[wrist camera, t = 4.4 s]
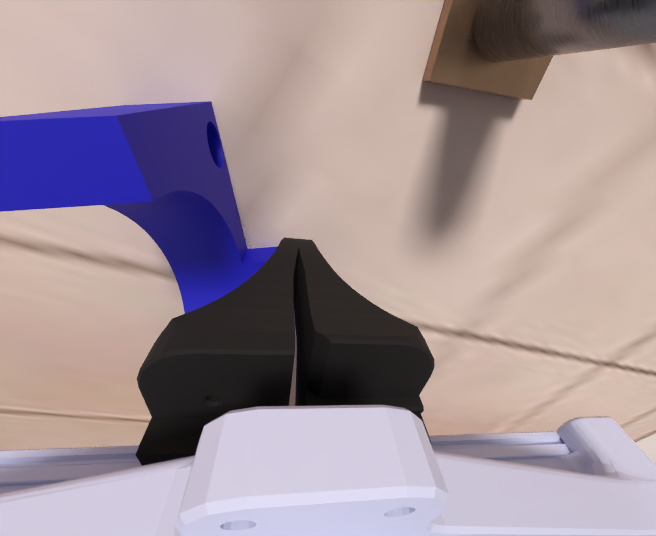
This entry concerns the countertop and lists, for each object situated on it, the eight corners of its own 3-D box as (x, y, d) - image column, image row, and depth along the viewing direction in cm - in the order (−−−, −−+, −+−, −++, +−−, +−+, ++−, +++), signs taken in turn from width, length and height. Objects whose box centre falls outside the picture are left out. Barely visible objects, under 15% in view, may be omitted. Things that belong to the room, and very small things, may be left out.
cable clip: (292, 329, 16) (289, 434, 11) (218, 336, 16) (182, 446, 11) (255, 99, 9) (206, 111, 4) (125, 105, 9) (-76, 124, 4)
